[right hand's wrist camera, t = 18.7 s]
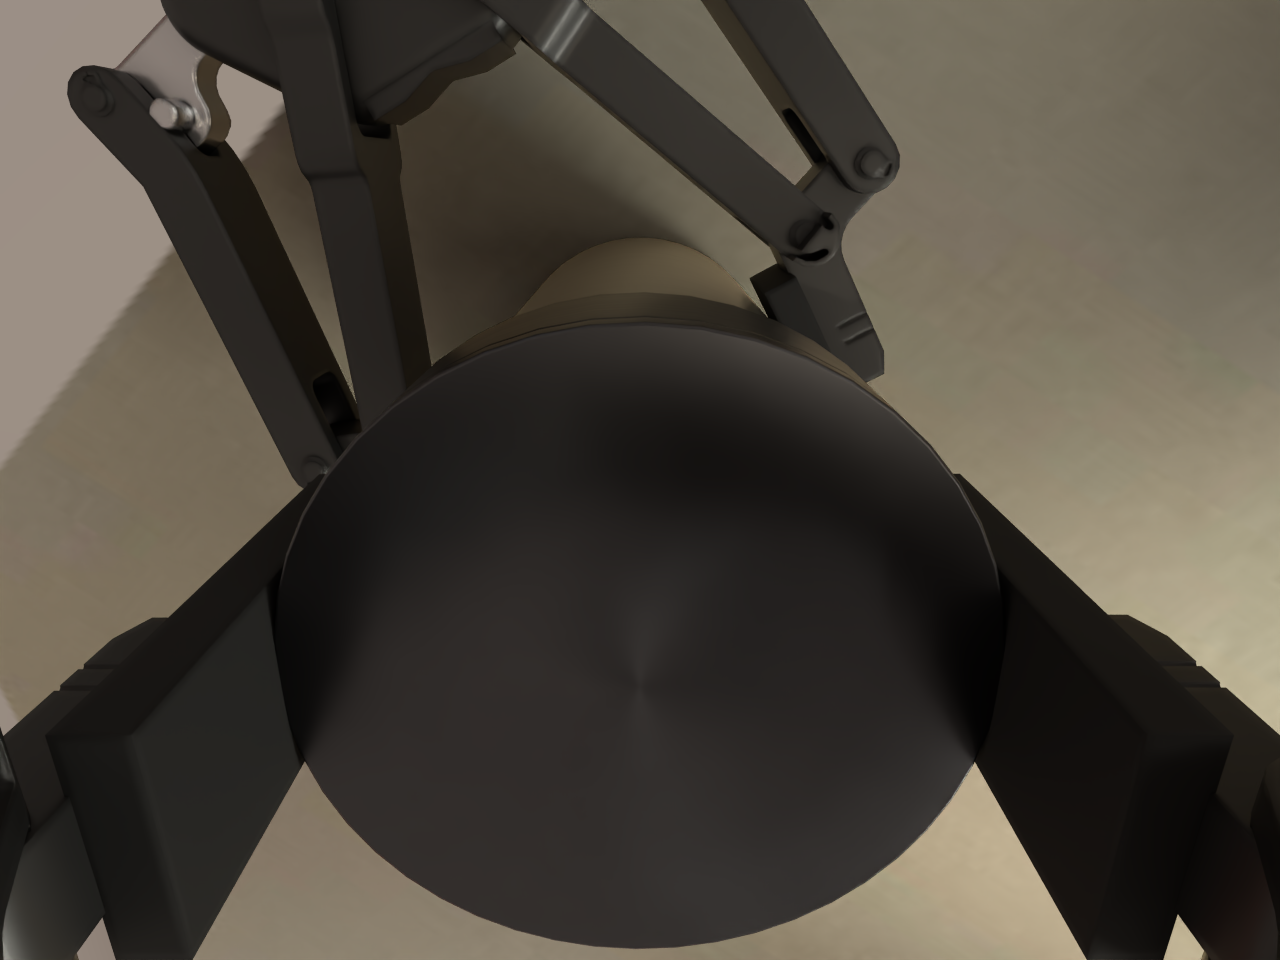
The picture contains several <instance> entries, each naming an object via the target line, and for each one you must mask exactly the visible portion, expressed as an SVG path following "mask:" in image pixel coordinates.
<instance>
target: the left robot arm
mask: <svg viewBox="0 0 1280 960" xmlns="http://www.w3.org/2000/svg"><path fill="white" fill-rule="evenodd" d="M701 1H702V3H703V4H704V6H705V7H706V9H707V10H708V11H709V13H710V14H711V16H712V17H713V19H714V20H715V22H716V23H717V25H718V26H719V28H720V29H721V31H722V32H723V34H724V35H725V37H726V38H727V40H728V41H729V43H730V44H731V46H732V47H733V49H734V50H735V52H736V53H737V54H738V56H739V57H740V59H741V60H742V62H743V63H744V65H745V66H746V68H747V69H748V71H749V72H750V74H751V75H752V77H753V78H754V80H755V81H756V83H757V84H758V86H759V87H760V89H761V90H762V92H763V93H764V95H765V96H766V97H767V99H768V100H769V102H770V103H771V105H772V106H773V108H774V109H775V111H776V112H777V114H778V115H779V117H780V118H781V120H782V121H783V123H784V124H785V126H786V127H787V129H788V130H789V132H790V133H791V135H792V136H793V138H794V139H795V140H796V142H797V143H798V145H799V146H800V148H801V149H802V151H803V152H804V154H805V155H806V157H807V158H808V160H809V161H810V163H811V164H812V167H811V169H810V170H809V171H808V172H807V173H806V174H805V175H804V176H803V177H802V179H801V180H800V181H799V182H798V183H797V184H796V185H795V186H794V185H793V184H792V183H791V182H790V181H789V180H787V179H786V178H785V177H784V176H783V175H782V174H780V173H779V172H778V171H777V170H776V169H775V168H774V167H772V166H771V165H770V164H769V163H768V162H767V161H765V160H764V159H763V158H762V157H761V156H760V155H759V154H757V153H756V152H755V151H754V150H753V149H752V148H750V147H749V146H748V145H747V144H746V143H745V142H744V141H742V140H741V139H740V138H739V137H738V136H737V135H735V134H734V133H733V132H732V131H731V130H730V129H728V128H727V127H726V126H725V125H724V124H723V123H722V122H720V121H719V120H718V119H717V118H716V117H715V116H713V115H712V114H711V113H710V112H709V111H708V110H707V109H705V108H704V107H703V106H702V105H701V104H700V103H698V102H697V101H696V100H695V99H694V98H693V97H692V96H690V95H689V94H688V93H687V92H686V91H685V90H683V89H682V88H681V87H680V86H679V85H678V84H676V83H675V82H674V81H673V80H672V79H671V78H670V77H668V76H667V75H666V74H665V73H664V72H663V71H661V70H660V69H659V68H658V67H657V66H656V65H655V64H653V63H652V62H651V61H650V60H649V59H648V58H646V57H645V56H644V55H643V54H642V53H641V52H640V51H638V50H637V49H636V48H635V47H634V46H633V45H631V44H630V43H629V42H628V41H627V40H626V39H625V38H623V37H622V36H621V35H620V34H619V33H618V32H616V31H615V30H614V29H613V28H612V27H611V26H609V25H608V24H607V23H606V22H605V21H604V20H603V19H601V18H600V17H599V16H598V15H597V14H596V13H595V12H593V11H592V10H591V9H590V8H589V7H588V6H587V4H586V3H585V2H584V1H583V0H161V3H162V6H163V8H164V11H165V13H166V15H165V16H164V17H163V18H162V20H161V21H160V22H159V23H158V24H157V25H156V26H155V27H154V28H153V29H152V30H151V31H150V32H149V33H148V34H147V36H146V37H145V38H144V39H143V40H142V41H141V42H140V43H139V44H138V45H137V46H136V47H135V48H134V50H133V51H132V52H131V53H130V54H129V55H128V56H127V57H126V58H125V59H124V60H123V61H122V63H120V65H119V66H117V67H116V68H115V69H111V68H105V67H100V66H95V65H92V66H82V67H81V68H79V69H78V70H76V71H75V72H73V74H72V76H71V78H70V80H69V81H68V91H67V95H68V98H69V101H70V105H71V108H72V109H73V110H74V112H75V113H76V115H77V116H78V118H79V119H80V120H81V121H82V122H83V123H84V124H85V125H86V126H87V127H88V128H89V130H90V131H91V132H92V133H93V134H94V135H95V136H96V137H97V138H98V139H99V140H100V141H101V142H102V143H103V144H104V145H105V146H106V148H107V149H108V150H109V151H110V152H111V153H112V154H113V155H114V156H115V157H116V158H117V159H118V160H119V161H120V162H121V163H122V164H123V165H124V167H125V168H126V169H127V170H128V171H129V172H130V173H131V174H132V175H133V176H134V177H135V178H136V179H137V180H138V181H139V182H140V184H141V185H142V186H143V187H144V189H145V191H146V193H147V195H148V197H149V199H150V201H151V203H152V204H153V206H154V208H155V210H156V212H157V214H158V216H159V218H160V220H161V222H162V224H163V226H164V228H165V230H166V232H167V234H168V236H169V238H170V240H171V241H172V243H173V245H174V247H175V249H176V251H177V253H178V255H179V257H180V259H181V261H182V263H183V265H184V267H185V269H186V271H187V273H188V275H189V277H190V279H191V280H192V282H193V284H194V286H195V288H196V290H197V292H198V294H199V296H200V298H201V300H202V302H203V304H204V306H205V308H206V310H207V312H208V314H209V316H210V318H211V319H212V321H213V323H214V325H215V327H216V329H217V331H218V333H219V335H220V337H221V339H222V341H223V343H224V345H225V347H226V349H227V351H228V353H229V355H230V356H231V358H232V360H233V362H234V364H235V366H236V368H237V370H238V372H239V374H240V376H241V378H242V380H243V382H244V384H245V386H246V388H247V390H248V392H249V394H250V395H251V397H252V399H253V401H254V403H255V405H256V407H257V409H258V411H259V413H260V415H261V417H262V419H263V421H264V423H265V425H266V427H267V429H268V431H269V432H270V434H271V436H272V438H273V440H274V442H275V444H276V446H277V448H278V450H279V452H280V454H281V456H282V458H283V460H284V462H285V464H286V466H287V468H288V470H289V471H290V473H291V475H292V477H293V479H294V480H295V481H296V482H297V484H298V485H299V486H301V487H302V488H305V487H306V486H307V485H308V484H309V483H310V482H311V481H313V480H314V479H315V478H316V477H317V476H318V475H319V474H326V473H327V472H328V470H329V469H330V468H331V467H332V466H333V464H334V463H335V462H336V461H337V459H338V458H339V457H340V456H341V454H342V453H343V452H344V451H345V450H346V448H347V447H348V446H349V445H350V443H351V442H352V441H353V440H354V439H355V437H356V436H357V435H358V434H359V433H361V432H362V431H363V430H364V429H365V428H366V427H367V426H368V425H369V424H370V423H371V422H372V421H373V420H374V419H375V418H377V417H378V416H379V415H380V414H381V413H382V412H383V411H384V410H385V409H386V408H387V407H388V406H389V405H390V404H392V403H393V402H394V401H395V400H396V399H397V398H398V397H399V396H400V395H401V394H402V393H403V392H404V391H405V390H406V389H408V388H409V387H410V386H411V385H412V384H413V383H414V382H415V381H416V380H417V379H418V378H420V377H421V376H422V375H423V374H424V373H425V372H426V371H427V370H428V369H429V368H431V367H432V366H431V360H430V354H429V348H428V343H427V337H426V331H425V325H424V319H423V313H422V308H421V302H420V296H419V290H418V284H417V279H416V273H415V267H414V261H413V255H412V250H411V244H410V238H409V232H408V226H407V220H406V215H405V209H404V203H403V197H402V191H401V185H400V174H401V169H402V160H401V152H400V146H399V140H398V134H397V128H396V125H403V124H404V123H406V122H408V121H409V120H411V119H412V118H414V117H416V116H417V115H419V114H420V113H422V112H424V111H425V110H427V109H428V108H429V107H430V106H431V105H432V104H433V103H434V102H435V101H436V99H437V98H438V97H439V96H440V95H441V94H442V93H443V91H444V90H445V89H446V88H447V87H448V86H449V85H450V84H451V83H452V82H453V81H455V80H458V79H462V78H466V77H469V76H473V75H477V74H480V73H484V72H488V71H489V70H491V69H492V68H494V67H496V66H497V65H499V64H500V63H502V62H504V61H505V60H507V59H508V58H510V57H512V56H513V55H515V54H516V53H515V51H514V49H513V48H514V47H515V45H516V44H517V43H518V42H519V40H522V41H523V42H524V43H525V44H526V45H528V46H529V47H530V48H531V49H532V50H534V51H535V52H536V53H537V54H538V55H539V56H541V57H542V58H543V59H544V60H545V61H547V62H548V63H549V64H550V65H551V66H553V67H554V68H555V69H556V70H558V71H559V72H560V73H562V74H563V75H564V76H565V77H567V78H568V79H569V80H570V81H571V82H573V83H574V84H575V85H576V86H577V87H579V88H580V89H581V90H582V91H583V92H585V93H586V94H587V95H588V96H589V97H591V98H592V99H593V100H594V101H595V102H597V103H598V104H599V105H600V106H601V107H603V108H604V109H605V110H606V111H607V112H609V113H610V114H611V115H612V116H613V117H615V118H616V119H617V120H618V121H619V122H621V123H622V124H623V125H624V126H625V127H627V128H628V129H629V130H630V131H631V132H632V133H634V134H635V135H636V136H637V137H638V138H640V139H641V140H642V141H643V142H644V143H646V144H647V145H648V146H649V147H650V148H652V149H653V150H654V151H655V152H656V153H658V154H659V155H660V156H661V157H662V158H664V159H665V160H666V161H667V162H668V163H670V164H671V165H672V166H673V167H674V168H676V169H677V170H678V171H679V172H680V173H682V174H683V175H684V176H685V177H686V178H687V179H689V180H690V181H691V182H692V183H693V184H695V185H696V186H697V187H698V188H699V189H701V190H702V191H703V192H704V193H705V194H707V195H708V196H709V197H710V198H711V199H713V200H714V201H715V202H716V203H717V204H719V205H720V206H721V207H722V208H723V209H725V210H726V211H727V212H728V213H729V214H731V215H732V216H733V217H734V218H735V219H737V220H738V221H739V222H740V223H741V224H742V225H744V226H745V227H746V228H747V229H748V230H750V231H751V232H752V233H753V234H754V235H756V236H757V237H758V238H759V239H760V240H762V241H763V242H764V243H765V244H766V245H768V246H769V247H770V249H771V251H772V253H773V255H774V257H775V259H776V261H777V263H778V264H775V265H773V266H771V267H769V268H767V269H766V270H764V271H762V272H760V273H758V274H756V275H754V276H753V277H751V278H749V279H750V281H751V283H752V285H753V287H754V289H755V291H756V293H757V295H758V297H759V299H760V301H761V303H762V305H763V308H764V310H765V312H766V314H767V316H768V318H770V319H773V320H775V321H777V322H779V323H781V324H783V325H785V326H787V327H789V328H790V329H792V330H794V331H796V332H798V333H800V334H802V335H804V336H806V337H807V338H809V339H811V340H813V341H815V342H816V343H817V344H819V345H820V346H821V347H823V348H824V349H826V350H827V351H828V352H830V353H831V354H833V355H834V356H835V357H837V358H838V359H839V360H841V361H842V362H844V363H845V364H846V365H848V366H849V367H850V368H851V369H852V370H853V371H854V372H855V373H856V374H857V375H858V376H859V377H860V378H861V379H862V380H864V381H865V382H868V381H870V380H872V379H874V378H876V377H878V376H880V375H882V374H884V350H883V348H882V346H881V343H880V341H879V339H878V337H877V334H876V332H875V330H874V328H873V325H872V323H871V321H870V318H869V316H868V314H867V312H866V309H865V307H864V305H863V302H862V300H861V298H860V296H859V293H858V291H857V289H856V286H855V284H854V282H853V280H852V277H851V275H850V273H849V270H848V268H847V266H846V264H845V261H844V259H843V255H842V252H841V241H842V236H843V232H844V230H845V228H846V226H847V224H848V223H849V221H850V220H851V219H852V217H853V216H854V215H855V214H856V213H857V212H858V211H859V210H860V209H861V208H862V206H863V205H864V204H865V203H866V202H867V201H868V200H869V199H870V198H871V197H872V196H873V195H874V194H875V193H877V192H879V191H881V190H883V189H885V188H887V187H888V185H889V184H890V183H891V182H892V181H893V180H894V179H895V177H896V174H897V172H898V169H899V163H900V154H899V152H898V149H897V146H896V144H895V142H894V141H893V139H892V138H891V136H890V134H889V133H888V131H887V130H886V128H885V127H884V125H883V123H882V122H881V120H880V119H879V117H878V116H877V114H876V112H875V111H874V109H873V108H872V106H871V104H870V103H869V101H868V100H867V98H866V97H865V95H864V93H863V92H862V90H861V89H860V87H859V86H858V84H857V82H856V81H855V79H854V78H853V76H852V75H851V73H850V71H849V70H848V68H847V67H846V65H845V64H844V62H843V60H842V59H841V57H840V56H839V54H838V53H837V51H836V49H835V48H834V46H833V45H832V43H831V42H830V40H829V38H828V37H827V35H826V34H825V32H824V30H823V29H822V27H821V26H820V24H819V23H818V21H817V19H816V18H815V16H814V15H813V13H812V12H811V10H810V8H809V7H808V5H807V4H806V2H805V1H804V0H701ZM223 63H224V64H226V65H228V66H230V67H232V68H234V69H236V70H238V71H240V72H242V73H244V74H246V75H248V76H250V77H252V78H254V79H256V80H258V81H261V82H263V83H265V84H267V85H269V86H271V87H273V88H275V89H277V90H279V91H281V92H282V94H283V99H284V103H285V108H286V113H287V118H288V122H289V127H290V132H291V136H292V141H293V146H294V151H295V155H296V158H297V162H298V165H299V167H300V169H301V172H302V173H303V175H304V176H305V177H306V179H307V180H308V181H309V183H310V185H311V188H312V192H313V196H314V201H315V206H316V211H317V215H318V220H319V225H320V230H321V234H322V239H323V244H324V249H325V254H326V258H327V263H328V268H329V273H330V278H331V282H332V287H333V292H334V297H335V302H336V306H337V311H338V316H339V321H340V326H341V330H342V335H343V340H344V345H345V350H346V354H347V359H348V364H349V369H350V373H351V378H352V383H353V388H354V393H355V397H356V401H355V399H354V397H353V395H352V393H351V391H350V389H349V386H348V384H347V382H346V380H345V378H344V376H343V374H342V371H341V369H340V367H339V365H338V363H337V361H336V359H335V356H334V354H333V352H332V350H331V348H330V346H329V344H328V342H327V339H326V337H325V335H324V333H323V331H322V329H321V327H320V324H319V322H318V320H317V318H316V316H315V314H314V312H313V309H312V307H311V305H310V303H309V301H308V299H307V297H306V294H305V292H304V290H303V288H302V286H301V284H300V282H299V279H298V277H297V275H296V273H295V271H294V269H293V267H292V264H291V262H290V260H289V258H288V256H287V254H286V252H285V249H284V247H283V245H282V243H281V241H280V239H279V237H278V235H277V232H276V230H275V228H274V226H273V224H272V222H271V220H270V217H269V215H268V213H267V211H266V209H265V207H264V205H263V202H262V200H261V198H260V196H259V194H258V192H257V190H256V188H255V186H254V184H253V182H252V180H251V178H250V176H249V174H248V172H247V171H246V169H245V167H244V166H243V164H242V163H241V161H240V160H239V158H238V157H237V155H236V154H235V152H234V151H233V150H232V148H231V147H230V146H229V145H228V143H227V142H226V141H225V139H226V137H227V136H228V133H229V129H230V127H231V119H230V116H229V114H228V111H227V109H226V107H225V105H224V104H223V102H222V100H221V98H220V96H219V94H218V90H217V74H218V70H219V68H220V66H221V65H222V64H223ZM356 402H357V404H356Z"/></svg>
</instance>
